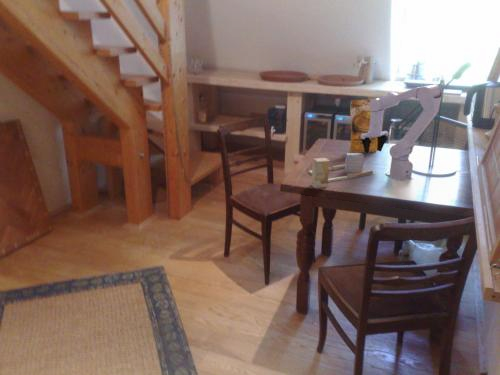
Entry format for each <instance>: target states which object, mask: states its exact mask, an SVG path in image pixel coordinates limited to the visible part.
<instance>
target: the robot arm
mask: <svg viewBox="0 0 500 375" xmlns="http://www.w3.org/2000/svg"><path fill="white" fill-rule="evenodd" d="M443 97H444V95H443V91H442V87H441V86H440V85H438V84H432V85H423V86H418V87H414V88H411V89H407V90H405V91H403V92H400V93H396V92H392V91H391V92H388V93H387V94H386V95H380V96H379V97H377V98H373V100H371V99H370V100H371V101H370V103H369V108H370V110H371V115H370V125H369V131H368V133H365V134H361V141H362V143H363V146H364V153H365V154H369V153H370V152H369V147H370V143H371V141H372V140H369V138H372V137H377V140H378V145H377V151H378V152H382V150H383V148H384V146H385V143H387V140H388V136H389V131H387V130H383V121H384V113H385V110H386V109H388V108H393V107H396V106H398V105H399V104H400V102H401V101H405V100H408V99H412V98H414V99H415V100H418V102H419V104H420V105H421V106H422V109H423V110H422V112H421V113H420V115H419V116H418V117H417V119H416V120H415V121H414V122H413V124H412V125H411V127H410V128H409V129H408V131H406V133H405V134H404V136H403V137H402V138H401V139H399V141H397V142H396V144H394V145H392V146H391V147H390V149H389V155H390V158H391V163H390V167H389V168H390V169H389V172H386V173H385V175H386V176H388V177H390V178H392V179H394V180H396V181H399V182H402V181H407V180H411V179H413V176H412V175H413V168H414V167H413V166H414V165H413V163H412V161H411V160H410V159H409V158H410V155H411V154H412V152H413V149H414V147H415V145H416V144H415V142H416V141H417V140H418V139H419V137H420V136H421V135H422V134H423V132H424V131H425V129H427V127H428V126H429V125H430V123H431V122H432V121H433V119H434V118H435V117H436V116H437V115H438V113H439V111H440V106H441V101H442V100H441V99H443ZM382 130H383V131H382Z"/></svg>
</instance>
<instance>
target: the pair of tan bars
mask: <svg viewBox="0 0 500 375" xmlns="http://www.w3.org/2000/svg"><path fill="white" fill-rule="evenodd" d="M342 169H345V163H344V164H340V165H339V164H338V165H331V171H336V170H342ZM373 172H374V171H373V170H371V169H370V170H365V171H364V170H363V171H362V172H358V173H347V174H345V176H347V179H353V178H357V177H359V178H360V177H363V176H370V175H373V174H374V173H373Z"/></svg>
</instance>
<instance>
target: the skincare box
mask: <svg viewBox="0 0 500 375" xmlns="http://www.w3.org/2000/svg"><path fill="white" fill-rule="evenodd" d="M329 167H330V160H329V159H328V158H327V157H319V158H318V157H317V158H312V168H311V170H312V174H311V180H310V185H311V186H312V187H313V188H314V189H319V188H328V183H329V182H328V179H329V173H330V172H329V171H330V170H329Z"/></svg>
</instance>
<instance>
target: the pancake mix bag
mask: <svg viewBox="0 0 500 375" xmlns="http://www.w3.org/2000/svg"><path fill="white" fill-rule="evenodd" d="M373 99H374V98H373ZM373 99H368V98H367V99H362V98H361V99H352V100H350V105H349V112H350V119H349V120H350V121H349V122H350V147H349V151H348V153H362V154H364V153H365V152H364V146H363V143H362V141H361V134H365V133H368V131H369V125H370V115H371V110H370V108H369V103H370V101H371V100H373ZM369 140H372V141H371V143H370V147H369V152H368V153H376V152H377V151H378V150H377V145H378V140H377V137H372V138H369Z"/></svg>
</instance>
